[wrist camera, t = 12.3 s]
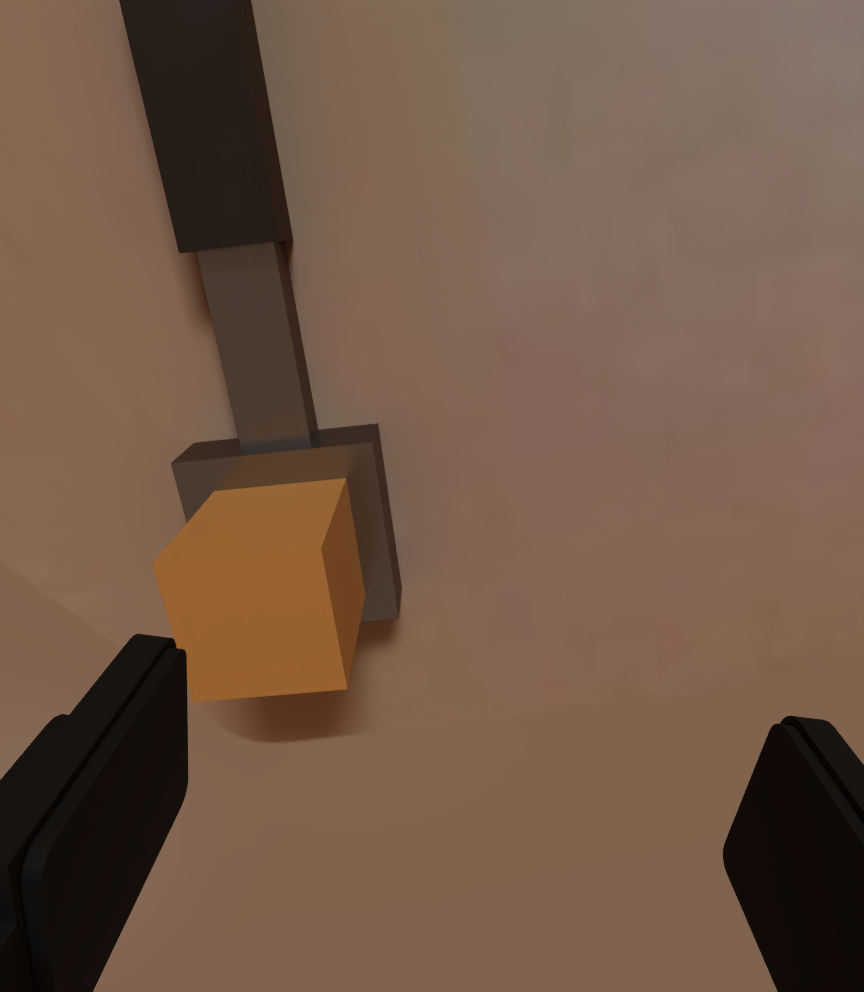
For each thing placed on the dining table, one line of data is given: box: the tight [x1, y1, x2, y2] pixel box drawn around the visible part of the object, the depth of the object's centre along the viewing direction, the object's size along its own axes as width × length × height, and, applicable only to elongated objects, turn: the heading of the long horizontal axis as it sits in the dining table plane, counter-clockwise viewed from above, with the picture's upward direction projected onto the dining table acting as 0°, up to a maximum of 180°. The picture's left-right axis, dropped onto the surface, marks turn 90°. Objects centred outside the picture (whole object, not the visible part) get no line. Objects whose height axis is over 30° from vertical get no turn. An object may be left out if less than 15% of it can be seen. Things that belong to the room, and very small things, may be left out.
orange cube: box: [152, 478, 365, 702], centre depth 27 cm, size 6×6×7 cm
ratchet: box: [119, 0, 402, 622], centre depth 27 cm, size 29×9×6 cm, turn 6°
